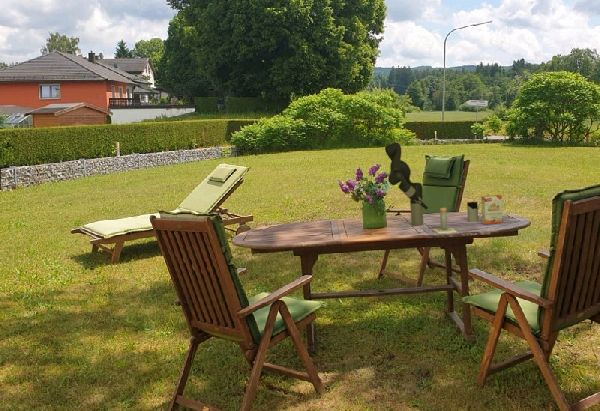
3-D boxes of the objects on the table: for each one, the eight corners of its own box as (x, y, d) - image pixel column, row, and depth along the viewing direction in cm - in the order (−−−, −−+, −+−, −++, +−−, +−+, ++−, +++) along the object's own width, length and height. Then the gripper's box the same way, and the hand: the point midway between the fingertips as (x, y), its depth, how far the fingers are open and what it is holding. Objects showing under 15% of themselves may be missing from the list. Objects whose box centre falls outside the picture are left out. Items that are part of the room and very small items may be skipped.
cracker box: (485, 224, 440) (484, 196, 438) (481, 223, 446) (480, 196, 444) (503, 222, 442) (501, 195, 440) (498, 222, 448) (497, 194, 446)
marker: (440, 229, 426) (439, 207, 425) (446, 229, 426) (445, 207, 425) (441, 230, 422) (440, 208, 420) (448, 230, 422) (447, 207, 420)
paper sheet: (432, 230, 432) (432, 228, 432) (450, 229, 432) (450, 227, 432) (438, 233, 416) (437, 232, 416) (456, 232, 416) (456, 230, 416)
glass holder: (465, 221, 463) (464, 202, 462) (481, 219, 467) (480, 200, 465) (471, 222, 455) (470, 203, 453) (487, 220, 458) (486, 201, 457)
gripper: (404, 192, 431) (418, 206, 437) (410, 200, 418) (424, 213, 424) (411, 185, 430) (425, 199, 436) (417, 192, 417) (432, 206, 423)
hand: (425, 206), depth 430 cm, fingers open, 8 cm apart
